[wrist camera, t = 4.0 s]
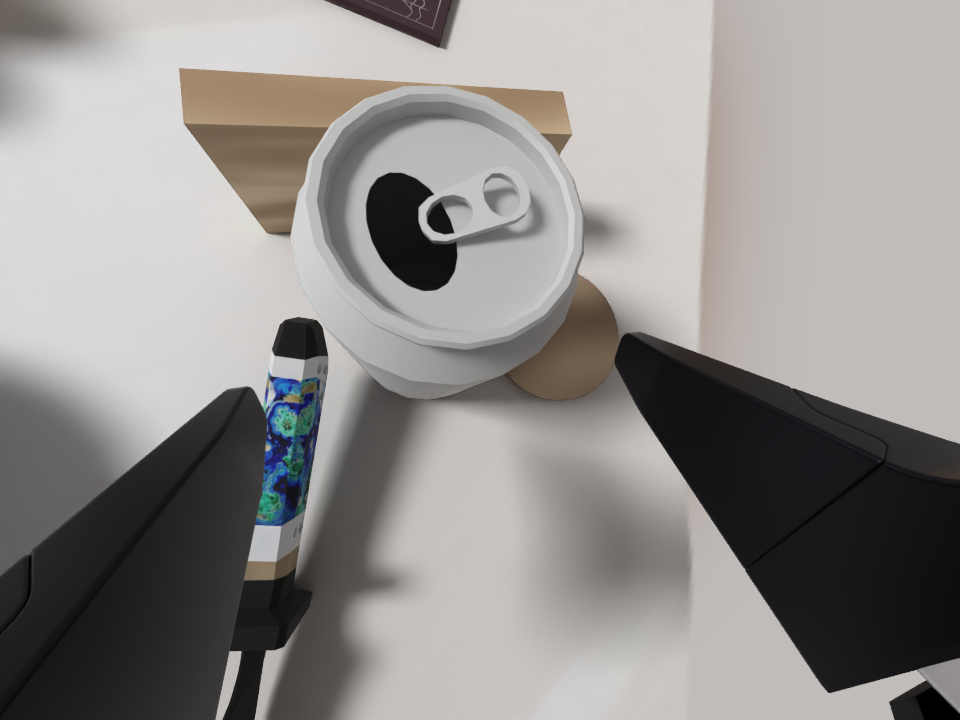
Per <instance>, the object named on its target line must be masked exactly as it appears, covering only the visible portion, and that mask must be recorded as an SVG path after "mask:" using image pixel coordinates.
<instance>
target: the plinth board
mask: <svg viewBox="0 0 960 720" xmlns="http://www.w3.org/2000/svg"><path fill="white" fill-rule="evenodd" d="M179 71H180V83H181V95H182V107H183V119H184V124H185V126H186V127H187V128H188V130H189V131H190V132H191V134H192V135H193V136H194V137H195V139H196V140H197V141H198V143H199V144H200V145H201V147H202V148H203V149H204V151H205V152H206V153H207V155H208V156H209V157H210V159H211V160H212V161H213V163H214V164H215V165H216V166H217V168H218V169H219V170H220V172H221V173H222V174H223V176H224V177H225V178H226V180H227V181H228V182H229V184H230V185H231V186H232V188H233V189H234V190H235V192H236V193H237V194H238V196H239V197H240V198H241V199H242V201H243V202H244V203H245V205H246V206H247V207H248V209H249V210H250V211H251V213H252V214H253V215H254V217H255V218H256V219H257V221H258V222H259V223H260V225H261V226H262V227H263V228H264V230H265V231H266V232H267V233H280V232H291V231H292V225H293V220H294V214H295V209H296V203H297V198H298V193H299V191H300V189H301V188H302V186H303V185H304V183H305V178H306V173H307V167H308V162H309V158H310V157H311V155H312V154H313V152H314V150H315V149H316V147H317V146H318V144H319V142H320V141H321V139H322V138H323V136H324V134H325V133H326V131H327V130H328V128H329V126H330V125H331V123H333V122H334V121H335V120H337V119H338V118H339V117H341V116H342V115H343V114H345V113H346V112H347V111H349V110H350V109H351V108H353V107H354V106H355V105H357V104H358V103H359V102H361V101H362V100H364V99H365V98H368V97H372V96H375V95H378V94H381V93H384V92H387V91H391V90H394V89H397V88H400V87H403V86H449V87H453V88H457V89H461V90H464V91H468V92H472V93H475V94H479V95H483V96H487V97H489V98H490V99H492V100H494V101H496V102H497V103H499V104H501V105H503V106H504V107H506V108H508V109H510V110H512V111H513V112H515V113H517V114H519V115H520V116H522V117H524V118H525V119H526V120H527V121H528V122H529V123H530V124H531V125H532V126H533V127H534V128H535V129H536V130H537V131H538V132H539V133H540V134H541V135H542V136H543V137H544V138H545V139H546V140H547V141H549V142H550V143H551V144H552V145H553V147H554V148H555V150H556V152H557V153H558V155H560V153H561V151H562V150H563V148H564V146H565V145H566V143H567V142H568V140H569V138H570V137H571V135H572V132H571V127H570V123H569V118H568V113H567V109H566V104H565V99H564V95H563V92H556V91H540V90H524V89H507V88H491V87H475V86H459V85H442V84H426V83H410V82H394V81H377V80H361V79H345V78H329V77H312V76H296V75H280V74H264V73H247V72H231V71H215V70H199V69H182V68H179Z"/></svg>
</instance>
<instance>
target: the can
mask: <svg viewBox="0 0 960 720" xmlns="http://www.w3.org/2000/svg"><path fill="white" fill-rule="evenodd" d="M290 238H291V244H292V249H293V254H294V259H295V265H296V270H297V275H298V281H299V285H300V286H301V288H302V290H303V291H304V293H305V295H306V297H307V298H308V300H309V302H310V303H311V305H312V307H313V308H314V310H315V312H316V314H317V315H318V317H319V319H320V320H321V322H322V324H323V325H324V327H325V328H326V329H327V330H328V331H329V332H330V334H331V335H332V336H333V337H334V338H335V339H336V340H337V341H338V342H339V343H340V344H341V345H342V346H343V347H344V349H345V350H346V351H347V352H348V353H349V354H350V355H351V356H352V357H353V358H354V359H355V360H356V361H357V362H358V364H359V365H360V366H361V367H362V368H363V369H364V370H365V371H366V372H367V373H368V374H369V375H370V376H371V377H373V378H374V379H375V380H376V381H377V382H378V383H379V384H381V385H382V386H383V387H384V388H385V389H387V390H390V391H392V392H395V393H397V394H399V395H402V396H404V397H407V398H416V399H428V400H431V399H436V398H440V397H444V396H448V395H453V394H455V393H458V392H460V391H463V390H465V389H468V388H471V387H473V386H476V385H478V384H481V383H483V382H486V381H489V380H491V379H494V378H496V377H499V376H501V375H504V374H505V373H507V372H508V371H510V370H512V369H513V368H515V367H516V366H518V365H520V364H521V363H523V362H525V361H526V360H528V359H529V358H531V357H533V356H534V355H536V354H537V353H539V352H540V351H541V349H542V348H543V347H544V346H545V345H546V343H547V342H548V341H549V340H550V338H551V337H552V336H553V335H554V333H555V332H556V331H557V330H558V328H559V327H560V326H561V325H562V323H563V322H564V321H565V318H566V315H567V312H568V310H569V307H570V304H571V301H572V298H573V296H574V293H575V290H576V287H577V283H578V268H579V265H580V263H581V260H582V257H583V254H584V214H583V210H582V207H581V203H580V200H579V196H578V193H577V189H576V186H575V182H574V179H573V178H572V176H571V174H570V173H569V171H568V169H567V168H566V166H565V165H564V163H563V161H562V160H561V158H560V156H559V155H558V153H557V152H556V150H555V148H554V147H553V145H552V144H551V143H550V142H549V141H547V140H546V139H545V138H544V137H543V136H542V135H541V134H540V133H539V132H538V131H537V130H536V129H535V128H534V127H533V126H532V125H531V124H530V123H529V122H528V121H527V120H526V119H525V118H524V117H522V116H520V115H519V114H517V113H515V112H513V111H512V110H510V109H508V108H506V107H504V106H503V105H501V104H499V103H497V102H496V101H494V100H492V99H490V98H489V97H487V96H483V95H479V94H475V93H472V92H468V91H464V90H461V89H457V88H453V87H449V86H403V87H400V88H397V89H394V90H391V91H387V92H384V93H381V94H378V95H375V96H372V97H368V98H365V99H364V100H362V101H361V102H359V103H358V104H357V105H355V106H354V107H353V108H351V109H350V110H349V111H347V112H346V113H345V114H343V115H342V116H341V117H339V118H338V119H337V120H335V121H334V122H333V123H331V125H330V126H329V128H328V130H327V131H326V133H325V134H324V136H323V138H322V139H321V141H320V142H319V144H318V146H317V147H316V149H315V150H314V152H313V154H312V155H311V157H310V158H309V162H308V167H307V173H306V178H305V183H304V185H303V186H302V188H301V189H300V191H299V193H298V198H297V203H296V209H295V214H294V220H293V225H292V231H291V236H290Z"/></svg>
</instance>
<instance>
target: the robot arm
mask: <svg viewBox="0 0 960 720" xmlns="http://www.w3.org/2000/svg"><path fill="white" fill-rule="evenodd" d="M614 361H615V366H616V368H617V370H618V372H619V374H620V376H621V377H622V379H623V381H624V383H625V385H626V387H627V389H628V391H629V393H630V394H631V396H632V398H633V400H634V402H635V404H636V406H637V407H638V409H639V411H640V413H641V414H642V416H643V417H644V419H645V420H646V422H647V423H648V425H649V426H650V428H651V429H652V431H653V432H654V434H655V435H656V437H657V438H658V440H659V441H660V443H661V444H662V446H663V447H664V449H665V450H666V452H667V453H668V455H669V456H670V458H671V459H672V461H673V462H674V464H675V465H676V467H677V468H678V470H679V471H680V473H681V474H682V476H683V477H684V479H685V480H686V482H687V483H688V485H689V486H690V488H691V489H692V491H693V492H694V494H695V495H696V497H697V498H698V500H699V501H700V503H701V504H702V506H703V507H704V509H705V510H706V512H707V513H708V515H709V516H710V518H711V520H712V521H713V523H714V524H715V525H716V527H717V528H718V530H719V532H720V533H721V535H722V536H723V538H724V539H725V541H726V542H727V544H728V545H729V546H730V548H731V550H732V551H733V553H734V554H735V556H736V557H737V559H738V560H739V561H740V563H741V564H742V566H743V567H744V568H745V571H746V573H747V574H748V576H749V577H750V579H751V580H752V582H753V583H754V585H755V586H756V588H757V589H758V591H759V592H760V594H761V595H762V597H763V598H764V600H765V601H766V602H767V604H768V606H769V607H770V609H771V610H772V612H773V613H774V615H775V616H776V618H777V619H778V621H779V622H780V624H781V625H782V627H783V628H784V630H785V631H786V633H787V634H788V636H789V637H790V639H791V640H792V642H793V643H794V645H795V646H796V648H797V649H798V651H799V652H800V654H801V655H802V657H803V658H804V660H805V661H806V663H807V664H808V666H809V667H810V669H811V670H812V672H813V673H814V675H815V676H816V678H817V679H818V681H819V682H820V683H821V685H822V686H823V687H824V688H825V690H826V691H827V692H828V693H832V692H836V691H840V690H843V689H847V688H851V687H854V686H858V685H861V684H866V683H869V682H873V681H876V680H880V679H884V678H888V677H891V676H895V675H899V674H903V673H906V672H910V671H914V670H917V671H918V672H919V673H920V674H921V675H922V676H923V677H924V678H925V679H926V681H924V682H923V683H921V684H919V685H917V686H916V687H914V688H912V689H910V690H909V691H907V692H905V693H904V694H902V695H900V696H899V697H897V698H895V699H893V700H892V701H890V702H889V703H890V706H891V709H892V713H893V716H894V719H895V720H960V444H959V443H955V442H952V441H948V440H945V439H942V438H939V437H936V436H933V435H930V434H927V433H924V432H921V431H918V430H914V429H911V428H908V427H905V426H902V425H899V424H896V423H893V422H890V421H887V420H884V419H881V418H878V417H875V416H872V415H869V414H866V413H863V412H859V411H856V410H854V409H851V408H848V407H845V406H842V405H839V404H836V403H833V402H831V401H828V400H825V399H822V398H819V397H816V396H813V395H810V394H808V393H805V392H803V391H800V390H797V389H791V388H790V387H789V386H786V385H783V384H781V383H778V382H775V381H773V380H770V379H767V378H764V377H762V376H759V375H756V374H754V373H751V372H748V371H745V370H743V369H740V368H737V367H734V366H732V365H729V364H726V363H724V362H721V361H718V360H715V359H713V358H710V357H707V356H704V355H702V354H699V353H696V352H694V351H691V350H688V349H685V348H683V347H680V346H677V345H675V344H672V343H669V342H666V341H664V340H661V339H658V338H656V337H653V336H650V335H647V334H645V333H642V332H632V333H626V334H624V335H623V337H622V338H621V341H620V344H619V347H618V349H617V352H616V355H615V359H614ZM266 435H267V417H266V413H265V411H264V409H263V407H262V405H261V403H260V401H259V399H258V397H257V395H256V393H255V392H254V390H253V389H252V388H251V387H248V386H246V387H239V388H232V389H228V390H226V391H224V392H223V393H222V394H221V395H219V396H218V397H217V398H216V399H214V400H213V401H212V402H211V403H210V404H208V405H207V406H206V407H205V408H204V409H202V410H201V411H200V412H199V413H197V414H196V415H195V416H194V417H193V418H191V419H190V420H189V421H188V422H187V423H185V424H184V425H183V426H182V427H180V428H179V429H178V430H177V431H176V432H174V433H173V434H172V435H171V436H170V437H168V438H167V439H166V440H165V441H163V442H162V443H161V444H160V445H159V446H157V447H156V448H155V449H154V450H153V451H151V452H150V453H149V454H148V455H146V456H145V457H144V458H143V459H142V460H140V461H139V462H138V463H137V464H136V465H134V466H133V467H132V468H131V469H130V470H128V471H127V472H126V473H125V474H123V475H122V476H121V477H120V478H119V479H117V480H116V481H115V482H114V483H113V484H111V485H110V486H109V487H108V488H106V489H105V490H104V491H103V492H102V493H100V494H99V495H98V496H97V497H95V498H94V499H93V500H92V501H91V502H89V503H88V504H87V505H86V506H85V507H83V508H82V509H81V510H80V511H78V512H77V513H76V514H75V515H74V516H72V517H71V518H70V519H69V520H68V521H66V522H65V523H64V524H63V525H61V526H60V527H59V528H58V529H57V530H55V531H54V532H53V533H52V534H50V535H49V536H48V537H47V538H46V539H44V540H43V541H42V542H41V543H40V544H38V545H37V546H36V547H35V548H34V549H33V550H32V552H31V554H28V555H25V556H24V557H22V558H21V559H20V560H19V561H18V562H16V563H15V564H14V565H13V566H11V567H10V568H9V569H8V570H7V571H5V572H4V573H3V574H2V575H1V576H0V720H215V719H216V714H217V709H218V704H219V699H220V694H221V690H222V685H223V680H224V675H225V670H226V665H227V660H228V655H229V651H230V646H231V641H232V636H233V631H234V626H235V621H236V616H237V612H238V607H239V602H240V597H241V592H242V587H243V582H244V577H245V573H246V568H247V563H248V558H249V553H250V548H251V543H252V538H253V534H254V529H255V524H256V519H257V514H258V509H259V504H260V499H261V494H262V487H263V477H264V463H265V449H266Z"/></svg>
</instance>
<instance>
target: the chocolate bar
mask: <svg viewBox="0 0 960 720" xmlns="http://www.w3.org/2000/svg"><path fill="white" fill-rule="evenodd" d="M325 1H327V2H330V3H332V4H335V5H337V6H340V7H342V8H344V9H347V10H349V11H352V12H354V13H356V14H359V15H361V16H364V17H366V18H369V19H371V20H373V21H376V22H378V23H381V24H383V25H385V26H388V27H390V28H393V29H395V30H398V31H400V32H402V33H405V34H407V35H410V36H412V37H414V38H417V39H419V40H422V41H424V42H426V43H429V44H431V45H434V46H436V47H439V45H440V41H441V37H442V34H443V30H444V27H445V23H446V19H447V16H448V12H449V9H450V5H451V1H452V0H325Z"/></svg>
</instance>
